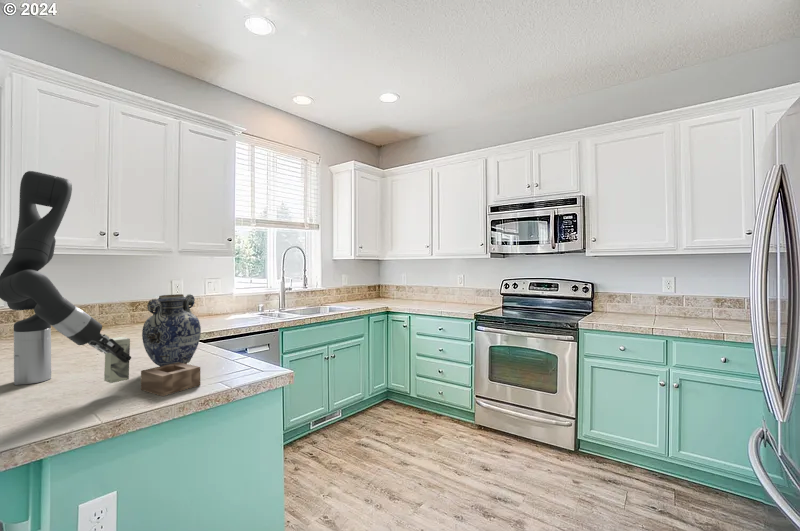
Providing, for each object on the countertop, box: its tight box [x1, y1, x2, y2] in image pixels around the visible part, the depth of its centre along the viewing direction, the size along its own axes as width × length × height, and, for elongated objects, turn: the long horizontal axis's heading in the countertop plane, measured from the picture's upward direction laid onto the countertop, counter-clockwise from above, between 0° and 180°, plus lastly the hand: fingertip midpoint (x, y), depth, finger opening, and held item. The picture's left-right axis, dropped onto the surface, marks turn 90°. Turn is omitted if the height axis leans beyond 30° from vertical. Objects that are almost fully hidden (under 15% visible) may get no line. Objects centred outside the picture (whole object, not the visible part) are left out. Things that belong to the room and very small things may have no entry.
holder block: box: [140, 362, 201, 397], centre depth 126 cm, size 12×12×6 cm
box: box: [103, 336, 131, 384], centre depth 120 cm, size 5×4×13 cm
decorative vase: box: [141, 293, 202, 367], centre depth 145 cm, size 21×19×28 cm
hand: (124, 359), depth 122 cm, fingers closed on box, 4 cm apart
